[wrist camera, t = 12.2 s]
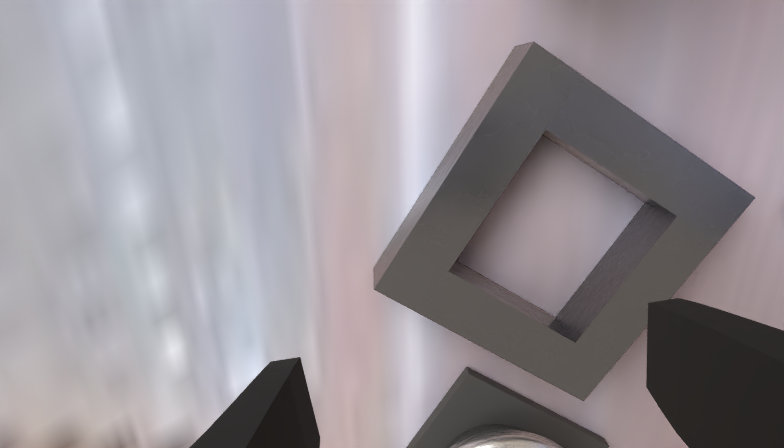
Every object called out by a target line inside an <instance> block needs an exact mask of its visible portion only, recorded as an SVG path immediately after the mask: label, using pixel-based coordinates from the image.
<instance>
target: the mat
mask: <svg viewBox="0 0 784 448" xmlns="http://www.w3.org/2000/svg"><path fill="white" fill-rule="evenodd" d="M488 424H502V425H508V426H512V427H515V428H518V429H520V430H522V431H526V432H530V433H534V434H537V435H540V436H543V437H546V438H548V439H549V440H551V441H553V442H555V443H556V444H558V445H559V446H561V447H562V448H608V447H609V445H608V444H607V442H606V441H605V439H604V438H602V437H601V436H599V435H597V434H595V433H593V432H591V431H589V430H587V429H585V428H583V427H581V426H579V425H577V424H576V423H574V422H572V421H570V420H568V419H566V418H564V417H562V416H560V415H558V414H556V413H554V412H552V411H550V410H549V409H547V408H545V407H543V406H541V405H539V404H537V403H535V402H533V401H531V400H529V399H527V398H525V397H523V396H522V395H520V394H518V393H516V392H514V391H512V390H510V389H508V388H506V387H504V386H502V385H500V384H498V383H497V382H495V381H493V380H491V379H489V378H487V377H485V376H483V375H481V374H479V373H477V372H475V371H473V370H471V369H470V368H468V367H466V368H465V370H464V371H463V372H462V374H461V375H460V376H459V378H458V379H457V380H456V382H455V383H454V385H453V386H452V387H451V389H450V390H449V391H448V393H447V394H446V395H445V397H444V398H443V399H442V401H441V402H440V403H439V405H438V406H437V407H436V409H435V410H434V411H433V413H432V414H431V415H430V417H429V418H428V419H427V421H426V422H425V423H424V425H423V426H422V427H421V429H420V430H419V432H418V433H417V434H416V436H415V437H414V438H413V440H412V441H411V442H410V444H409V445H408V446H407V448H447V447H448V446H449V444H450V443H451V442H452V441H453V440H454V439H455V438H456V437H458V436H459V435H460V434H462V433H464V432H465V431H467V430H470V429H472V428H475V427H477V426H482V425H488Z"/></svg>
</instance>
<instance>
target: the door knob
mask: <svg viewBox="0 0 784 448" xmlns="http://www.w3.org/2000/svg"><path fill="white" fill-rule="evenodd" d="M447 448H562V447H561V446H559V445H558V444H556V443H555V442H553V441H551V440H549V439H548V438H546V437H543V436H540V435H537V434H534V433H530V432H526V431H522V430H520V429H518V428H515V427H512V426H508V425H502V424H488V425H482V426H477V427H475V428H472V429H470V430H467V431H465V432H464V433H462V434H460V435H459V436H458V437H456V438H455V439H454V440H453V441H452V442H451V443H450V444H449V446H448V447H447Z"/></svg>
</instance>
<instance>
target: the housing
mask: <svg viewBox="0 0 784 448" xmlns="http://www.w3.org/2000/svg"><path fill="white" fill-rule="evenodd" d="M542 134H543V135H544V136H546V137H547V138H549V139H550V140H552V141H553V142H555V143H556V144H558V145H559V146H561V147H562V148H564V149H565V150H567V151H568V152H570V153H571V154H573V155H575V156H576V157H578V158H579V159H581V160H582V161H584V162H585V163H587V164H588V165H590V166H591V167H593V168H594V169H596V170H597V171H599V172H600V173H602V174H603V175H605V176H606V177H608V178H609V179H611V180H612V181H614V182H615V183H617V184H618V185H620V186H621V187H623V188H625V189H626V190H628V191H629V192H631V193H632V194H634V195H635V196H637V197H638V198H640V199H641V200H643V201H644V202H646V203H645V204H644V205H643V207H642V208H641V209H640V210H639V212H638V213H637V214H636V216H635V217H634V218H633V219H632V221H631V222H630V223H629V224H628V226H627V227H626V228H625V230H624V231H623V232H622V233H621V235H620V236H619V237H618V239H617V240H616V241H615V242H614V244H613V245H612V246H611V248H610V249H609V250H608V251H607V253H606V254H605V255H604V257H603V258H602V259H601V260H600V262H599V263H598V264H597V266H596V267H595V268H594V269H593V271H592V272H591V273H590V275H589V276H588V277H587V278H586V280H585V281H584V282H583V284H582V285H581V286H580V287H579V289H578V290H577V291H576V292H575V294H574V295H573V296H572V298H571V299H570V300H569V301H568V303H567V304H566V305H565V307H564V308H563V309H562V310H561V312H560V313H559V314H558V316H557V317H554V316H552V315H550V314H549V313H547V312H545V311H543V310H542V309H540V308H538V307H536V306H535V305H533V304H531V303H529V302H528V301H526V300H524V299H522V298H520V297H519V296H517V295H515V294H513V293H512V292H510V291H508V290H506V289H505V288H503V287H501V286H499V285H498V284H496V283H494V282H492V281H491V280H489V279H487V278H485V277H484V276H482V275H480V274H478V273H477V272H475V271H473V270H471V269H470V268H468V267H466V266H464V265H462V264H461V263H459V262H457V261H456V260H457V258H458V257H459V255H460V254H461V252H462V251H463V249H464V248H465V246H466V245H467V244H468V242H469V241H470V239H471V238H472V236H473V235H474V233H475V232H476V230H477V229H478V228H479V226H480V225H481V223H482V222H483V220H484V219H485V217H486V216H487V214H488V213H489V211H490V210H491V209H492V207H493V206H494V204H495V203H496V201H497V200H498V198H499V197H500V195H501V194H502V193H503V191H504V190H505V188H506V187H507V185H508V184H509V182H510V181H511V179H512V178H513V177H514V175H515V174H516V172H517V171H518V169H519V168H520V166H521V165H522V163H523V162H524V161H525V159H526V158H527V156H528V155H529V153H530V152H531V150H532V149H533V147H534V146H535V145H536V143H537V142H538V140H539V139H540V137H541V136H542ZM754 199H755V197H754V196H752V195H751V194H749V193H748V192H747V191H745V190H744V189H742V188H741V187H740V186H738V185H737V184H735V183H734V182H732V181H731V180H730V179H728V178H727V177H725V176H724V175H723V174H721V173H720V172H718V171H717V170H715V169H714V168H713V167H711V166H710V165H708V164H707V163H705V162H704V161H703V160H701V159H700V158H698V157H697V156H696V155H694V154H693V153H691V152H690V151H688V150H687V149H686V148H684V147H683V146H681V145H680V144H679V143H677V142H676V141H674V140H673V139H671V138H670V137H669V136H667V135H666V134H664V133H663V132H662V131H660V130H659V129H657V128H656V127H654V126H653V125H652V124H650V123H649V122H647V121H646V120H644V119H643V118H642V117H640V116H639V115H637V114H636V113H635V112H633V111H632V110H630V109H629V108H627V107H626V106H625V105H623V104H622V103H620V102H619V101H618V100H616V99H615V98H613V97H612V96H610V95H609V94H608V93H606V92H605V91H603V90H602V89H601V88H599V87H598V86H596V85H595V84H593V83H592V82H591V81H589V80H588V79H586V78H585V77H584V76H582V75H581V74H579V73H578V72H576V71H575V70H574V69H572V68H571V67H569V66H568V65H566V64H565V63H564V62H562V61H561V60H559V59H558V58H557V57H555V56H554V55H552V54H551V53H549V52H548V51H547V50H545V49H544V48H542V47H541V46H540V45H538V44H537V43H535V42H530V43H526V44H522V45H518V46H515V47H514V49H513V50H512V52H511V54H510V55H509V57H508V58H507V60H506V61H505V63H504V65H503V66H502V68H501V69H500V71H499V72H498V74H497V76H496V77H495V79H494V80H493V82H492V83H491V85H490V87H489V88H488V90H487V91H486V93H485V94H484V96H483V98H482V99H481V101H480V102H479V104H478V105H477V107H476V109H475V110H474V112H473V113H472V115H471V116H470V118H469V119H468V121H467V123H466V124H465V126H464V127H463V129H462V130H461V132H460V134H459V135H458V137H457V138H456V140H455V141H454V143H453V145H452V146H451V148H450V149H449V151H448V152H447V154H446V156H445V157H444V159H443V160H442V162H441V163H440V165H439V167H438V168H437V170H436V171H435V173H434V174H433V176H432V178H431V179H430V181H429V182H428V184H427V185H426V187H425V188H424V190H423V192H422V193H421V195H420V196H419V198H418V199H417V201H416V203H415V204H414V206H413V207H412V209H411V210H410V212H409V214H408V215H407V217H406V218H405V220H404V221H403V223H402V225H401V226H400V228H399V229H398V231H397V232H396V234H395V236H394V237H393V239H392V240H391V242H390V243H389V245H388V246H387V248H386V250H385V251H384V253H383V254H382V256H381V257H380V259H379V261H378V262H377V264H376V265H375V267H374V290H376V291H378V292H380V293H382V294H383V295H385V296H387V297H389V298H391V299H393V300H395V301H397V302H398V303H400V304H402V305H404V306H406V307H408V308H410V309H412V310H413V311H415V312H417V313H419V314H421V315H423V316H425V317H427V318H428V319H430V320H432V321H434V322H436V323H438V324H440V325H442V326H443V327H445V328H447V329H449V330H451V331H453V332H455V333H457V334H458V335H460V336H462V337H464V338H466V339H468V340H470V341H472V342H473V343H475V344H477V345H479V346H481V347H483V348H485V349H487V350H488V351H490V352H492V353H494V354H496V355H498V356H500V357H502V358H503V359H505V360H507V361H509V362H511V363H513V364H515V365H517V366H518V367H520V368H522V369H524V370H526V371H528V372H530V373H532V374H533V375H535V376H537V377H539V378H541V379H543V380H545V381H547V382H548V383H550V384H552V385H554V386H556V387H558V388H560V389H562V390H563V391H565V392H567V393H569V394H571V395H573V396H575V397H577V398H578V399H580V400H582V401H584V400H585V399H586V398H587V396H588V395H589V394H590V393H591V392H592V390H593V389H594V388H595V387H596V386H597V385H598V383H599V382H600V381H601V380H602V379H603V377H604V376H605V375H606V374H607V373H608V372H609V370H610V369H611V368H612V367H613V366H614V364H615V363H616V362H617V361H618V360H619V359H620V357H621V356H622V355H623V354H624V353H625V351H626V350H627V349H628V348H629V347H630V345H631V344H632V343H633V342H634V341H635V340H636V338H637V337H638V336H639V335H640V334H641V332H642V331H643V330H644V329H645V328H646V327H647V325H648V303H650V302H657V301H663V300H669V299H670V298H671V297H672V296H673V295H674V293H675V292H676V291H677V290H678V289H679V287H680V286H681V285H682V284H683V283H684V282H685V280H686V279H687V278H688V277H689V276H690V274H691V273H692V272H693V271H694V270H695V269H696V267H697V266H698V265H699V264H700V263H701V261H702V260H703V259H704V258H705V257H706V255H707V254H708V253H709V252H710V251H711V250H712V248H713V247H714V246H715V245H716V244H717V242H718V241H719V240H720V239H721V238H722V237H723V235H724V234H725V233H726V232H727V231H728V229H729V228H730V227H731V226H732V225H733V224H734V222H735V221H736V220H737V219H738V218H739V216H740V215H741V214H742V213H743V212H744V210H745V209H746V208H747V207H748V206H749V205H750V203H751V202H752V201H753V200H754Z"/></svg>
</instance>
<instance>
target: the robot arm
mask: <svg viewBox="0 0 784 448" xmlns="http://www.w3.org/2000/svg"><path fill="white" fill-rule="evenodd" d="M646 387H647V389H648V390H649V392H650V393H651V395H652V397H653V398H654V400H655V401H656V403H657V404H658V406H659V408H660V409H661V411H662V412H663V414H664V415H665V417H666V418H667V420H668V421H669V422H670V424H671V425H672V427H673V428H674V430H675V431H676V433H677V434H678V435H679V436H680V437H681V439H682V440H683V441H684V442H685V444H686V445H687V446H688V447H689V448H784V331H783V330H780V329H777V328H774V327H771V326H768V325H765V324H762V323H759V322H756V321H753V320H750V319H746V318H743V317H740V316H737V315H734V314H731V313H728V312H725V311H722V310H719V309H716V308H713V307H709V306H706V305H703V304H699V303H696V302H692V301H688V300H684V299H679V298H676V299H669V300H663V301H657V302H650V303H648V332H647V383H646ZM319 447H320V436H319V432H318V428H317V424H316V419H315V415H314V411H313V407H312V403H311V399H310V395H309V391H308V387H307V383H306V379H305V375H304V371H303V367H302V363H301V359H300V357H298V358H292V359H285V360H279V361H273V362H270V363H269V364H268V365H267V366H266V367H265V368H264V369H263V370H262V371H261V372H260V373H259V375H258V376H257V377H256V378H255V379H254V380H253V381H252V382H251V383H250V384H249V385H248V387H247V388H246V389H245V390H244V391H243V392H242V393H241V394H240V395H239V396H238V398H237V399H236V400H235V401H234V402H233V403H232V404H231V405H230V406H229V407H228V408H227V409H226V411H225V412H224V413H223V414H222V415H221V416H220V417H219V418H218V419H217V420H216V421H215V422H214V423H213V424H212V426H211V427H210V428H209V429H208V430H207V431H206V432H205V433H204V434H203V435H202V436H201V437H200V438H199V439H198V440H197V441H196V442H195V443H194V444H193V445H192V446H191V447H190V448H319Z"/></svg>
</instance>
